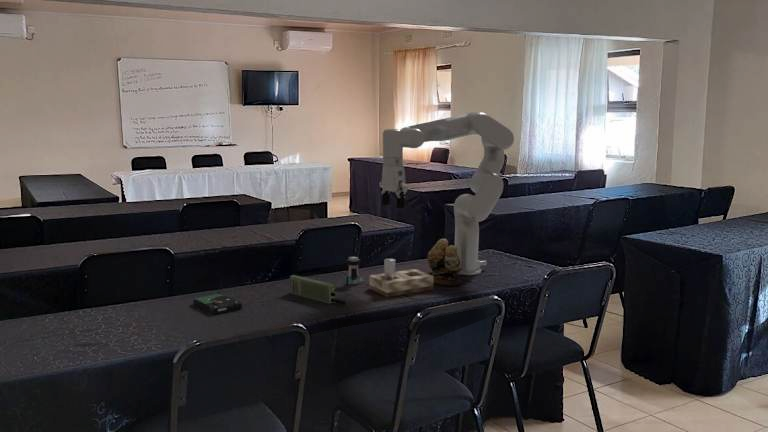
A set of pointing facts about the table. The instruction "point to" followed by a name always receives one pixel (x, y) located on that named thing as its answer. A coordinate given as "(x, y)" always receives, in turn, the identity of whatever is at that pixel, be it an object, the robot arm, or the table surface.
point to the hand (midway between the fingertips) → (393, 206)
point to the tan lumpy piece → (444, 264)
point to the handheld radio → (313, 289)
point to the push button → (353, 271)
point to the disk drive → (217, 303)
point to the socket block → (401, 283)
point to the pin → (389, 269)
